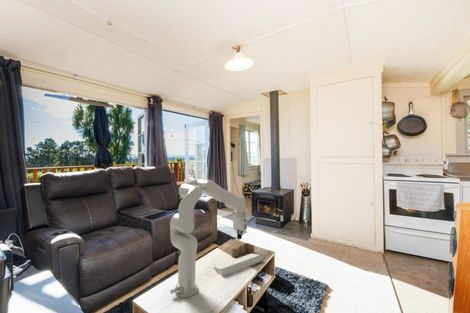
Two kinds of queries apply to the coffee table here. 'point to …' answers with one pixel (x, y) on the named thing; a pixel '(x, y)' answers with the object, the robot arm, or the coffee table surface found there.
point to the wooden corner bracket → (243, 249)
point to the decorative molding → (237, 264)
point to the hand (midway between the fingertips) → (239, 238)
